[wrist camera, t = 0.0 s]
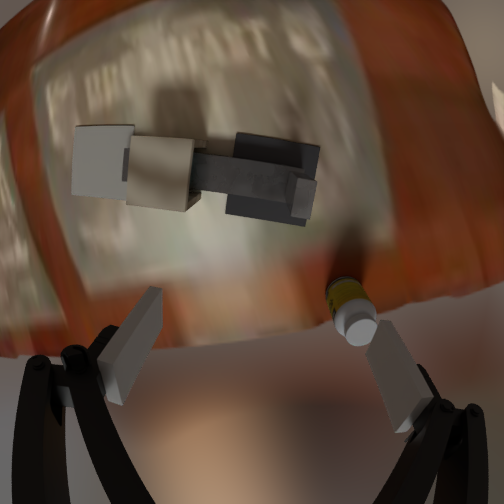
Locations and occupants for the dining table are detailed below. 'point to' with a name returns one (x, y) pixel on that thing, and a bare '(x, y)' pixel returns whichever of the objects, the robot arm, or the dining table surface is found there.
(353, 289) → the pill bottle
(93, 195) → the mat
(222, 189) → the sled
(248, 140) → the grey shoe shape
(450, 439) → the robot arm
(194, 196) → the tunnel
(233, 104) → the dining table surface
